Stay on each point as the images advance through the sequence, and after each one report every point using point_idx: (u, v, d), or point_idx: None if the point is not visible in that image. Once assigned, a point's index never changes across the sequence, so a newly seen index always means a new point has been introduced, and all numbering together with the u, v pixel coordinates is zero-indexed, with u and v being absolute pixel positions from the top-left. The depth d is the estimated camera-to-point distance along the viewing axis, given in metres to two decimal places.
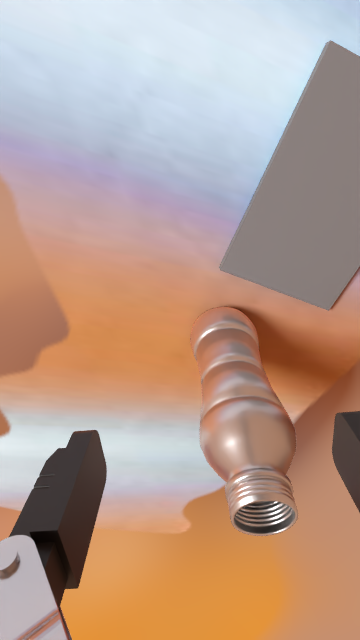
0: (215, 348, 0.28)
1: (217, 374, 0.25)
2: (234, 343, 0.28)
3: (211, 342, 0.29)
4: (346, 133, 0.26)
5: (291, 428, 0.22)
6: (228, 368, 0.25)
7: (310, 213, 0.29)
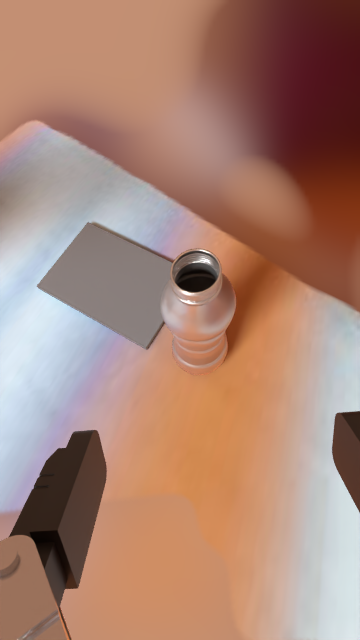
0: (175, 343, 0.35)
1: None
2: None
3: (176, 348, 0.36)
4: (80, 274, 0.46)
5: None
6: None
7: (119, 289, 0.45)
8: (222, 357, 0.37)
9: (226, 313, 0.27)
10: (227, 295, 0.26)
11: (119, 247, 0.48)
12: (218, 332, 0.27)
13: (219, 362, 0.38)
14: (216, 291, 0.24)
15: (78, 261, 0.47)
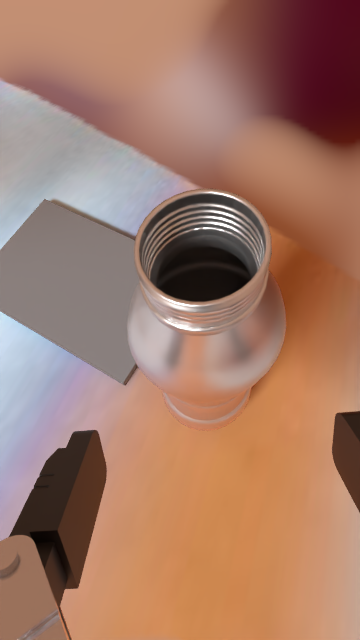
0: None
1: None
2: None
3: None
4: (29, 272, 0.32)
5: None
6: None
7: (85, 294, 0.30)
8: (244, 403, 0.23)
9: (269, 345, 0.12)
10: (272, 305, 0.12)
11: (88, 232, 0.33)
12: (251, 385, 0.13)
13: (239, 411, 0.23)
14: (255, 298, 0.09)
15: (28, 253, 0.33)
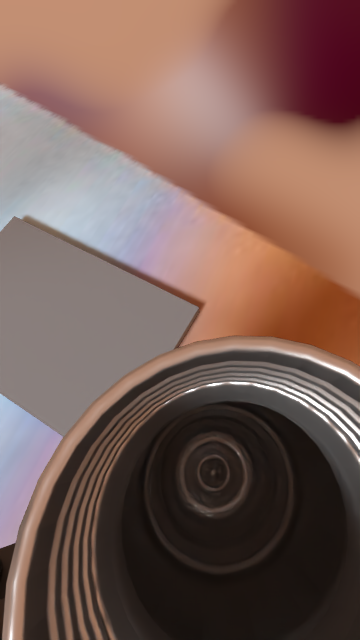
0: None
1: None
2: None
3: None
4: None
5: None
6: None
7: (59, 340, 0.24)
8: None
9: None
10: None
11: (65, 259, 0.27)
12: None
13: None
14: None
15: None
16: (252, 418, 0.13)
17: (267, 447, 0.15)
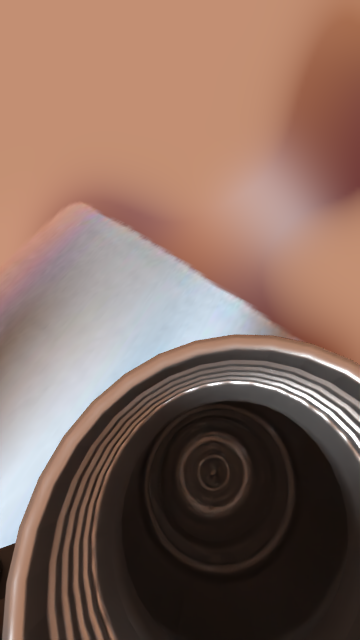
0: None
1: None
2: None
3: None
4: None
5: None
6: None
7: None
8: None
9: None
10: None
11: None
12: None
13: None
14: None
15: None
16: (252, 418, 0.13)
17: (267, 447, 0.15)
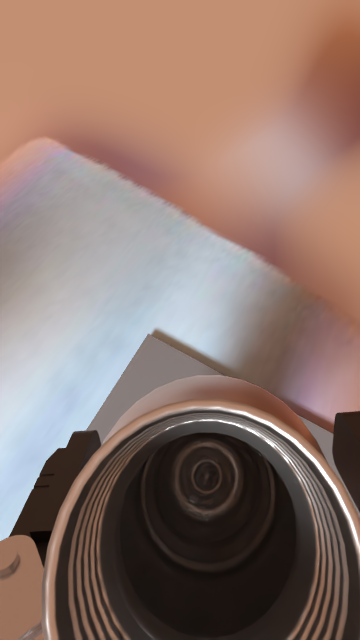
0: None
1: None
2: None
3: None
4: None
5: (154, 390, 0.09)
6: None
7: None
8: None
9: None
10: None
11: None
12: None
13: None
14: None
15: None
16: None
17: (253, 452, 0.16)
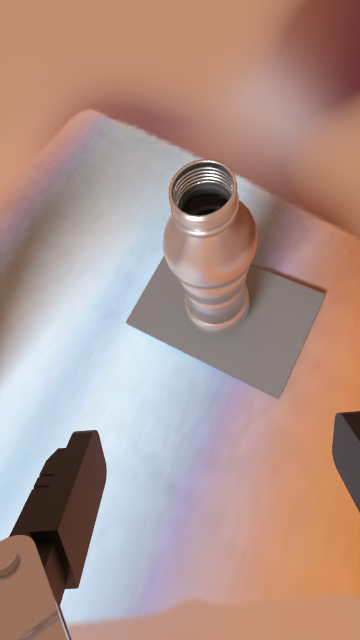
0: (188, 300, 0.30)
1: (183, 287, 0.26)
2: None
3: (190, 306, 0.30)
4: (177, 304, 0.37)
5: (186, 203, 0.23)
6: None
7: None
8: (244, 311, 0.32)
9: (247, 246, 0.21)
10: (246, 222, 0.21)
11: None
12: (239, 273, 0.22)
13: (241, 318, 0.32)
14: (232, 213, 0.18)
15: (172, 287, 0.38)
16: None
17: None
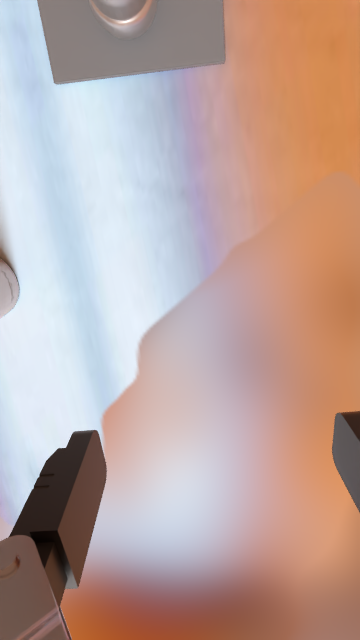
0: None
1: None
2: None
3: (104, 8, 0.28)
4: (85, 25, 0.34)
5: None
6: None
7: None
8: None
9: None
10: None
11: None
12: None
13: None
14: None
15: (67, 7, 0.33)
16: None
17: None
